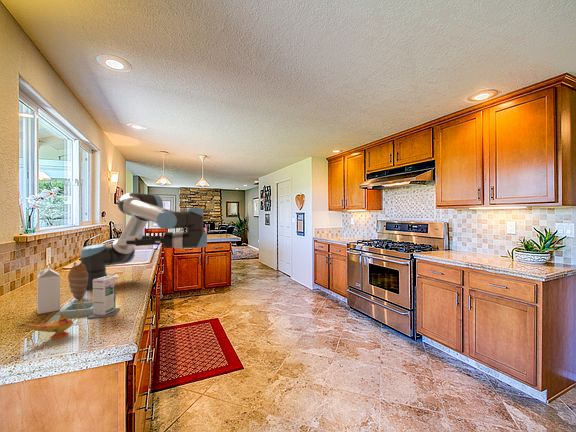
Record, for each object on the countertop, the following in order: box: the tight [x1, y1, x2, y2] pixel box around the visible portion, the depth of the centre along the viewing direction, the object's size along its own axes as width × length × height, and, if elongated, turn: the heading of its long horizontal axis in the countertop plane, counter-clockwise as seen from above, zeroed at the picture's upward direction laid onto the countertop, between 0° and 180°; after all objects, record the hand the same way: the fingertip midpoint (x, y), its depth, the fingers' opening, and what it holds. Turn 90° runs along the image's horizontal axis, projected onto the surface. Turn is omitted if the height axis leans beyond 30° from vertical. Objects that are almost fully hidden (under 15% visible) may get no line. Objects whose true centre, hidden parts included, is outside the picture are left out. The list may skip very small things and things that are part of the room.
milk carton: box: [36, 264, 61, 315], centre depth 117 cm, size 7×7×19 cm
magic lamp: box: [16, 298, 87, 340], centre depth 92 cm, size 7×18×11 cm, turn 141°
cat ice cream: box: [67, 261, 88, 300], centre depth 132 cm, size 9×8×18 cm
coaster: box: [86, 307, 121, 320], centre depth 114 cm, size 9×9×1 cm
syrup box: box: [92, 275, 117, 315], centre depth 114 cm, size 6×6×14 cm
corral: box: [59, 301, 93, 318], centre depth 116 cm, size 11×11×2 cm
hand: (122, 240), depth 124 cm, fingers open, 13 cm apart
